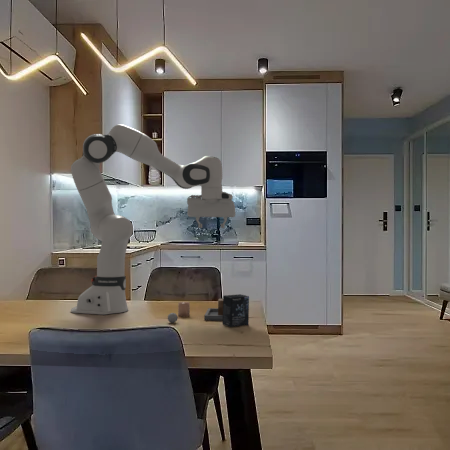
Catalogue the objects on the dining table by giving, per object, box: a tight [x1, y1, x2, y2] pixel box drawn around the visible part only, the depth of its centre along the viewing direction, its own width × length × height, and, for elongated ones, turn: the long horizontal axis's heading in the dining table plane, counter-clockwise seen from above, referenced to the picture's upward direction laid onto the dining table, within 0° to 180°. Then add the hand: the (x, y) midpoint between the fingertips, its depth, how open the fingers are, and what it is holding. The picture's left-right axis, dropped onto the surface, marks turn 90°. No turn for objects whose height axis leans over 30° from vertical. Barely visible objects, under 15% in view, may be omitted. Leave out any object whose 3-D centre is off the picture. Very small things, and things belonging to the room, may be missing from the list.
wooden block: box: [177, 301, 191, 317], centre depth 203 cm, size 4×4×5 cm
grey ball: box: [167, 312, 179, 324], centre depth 188 cm, size 4×4×4 cm
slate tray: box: [203, 307, 223, 322], centre depth 201 cm, size 14×16×2 cm
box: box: [222, 294, 250, 328], centre depth 186 cm, size 8×6×11 cm
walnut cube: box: [217, 298, 223, 315], centre depth 201 cm, size 4×4×6 cm
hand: (211, 228), depth 218 cm, fingers open, 8 cm apart
